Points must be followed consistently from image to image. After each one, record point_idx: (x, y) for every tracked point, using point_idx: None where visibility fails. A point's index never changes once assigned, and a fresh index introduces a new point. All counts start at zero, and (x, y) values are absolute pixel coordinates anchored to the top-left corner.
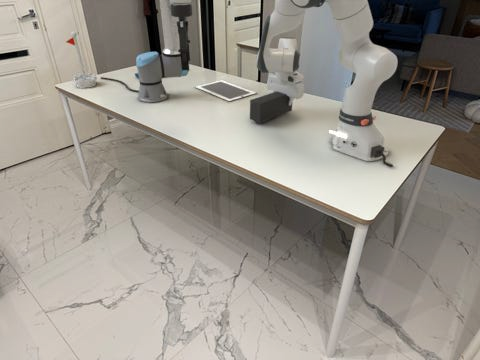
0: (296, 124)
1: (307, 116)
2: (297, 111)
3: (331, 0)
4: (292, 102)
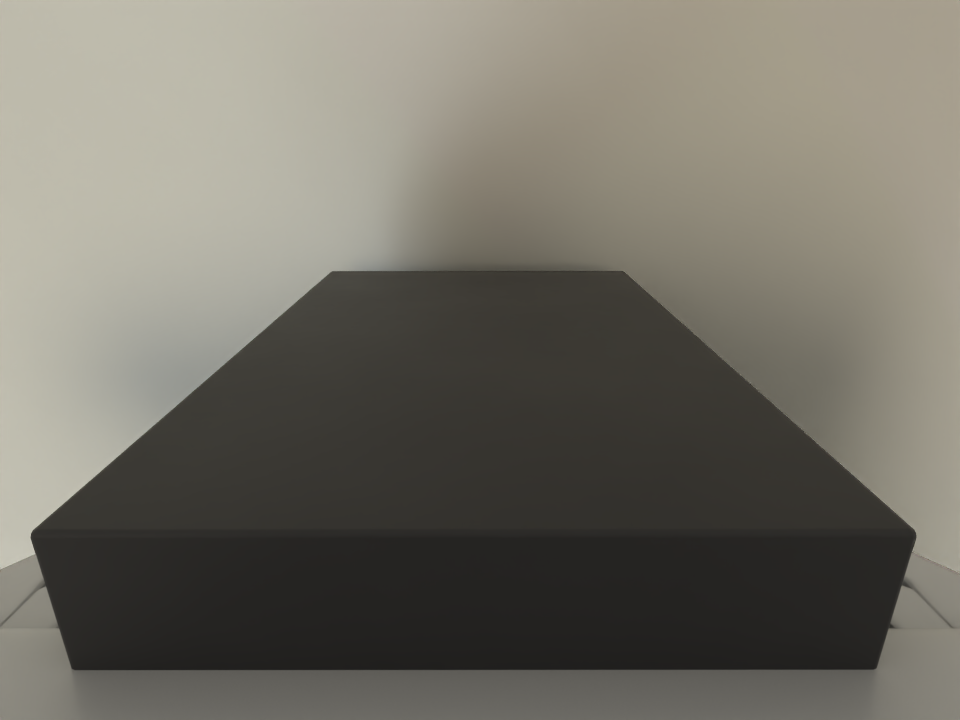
0: (930, 546)
1: (955, 131)
2: (633, 56)
3: None
4: (687, 331)
